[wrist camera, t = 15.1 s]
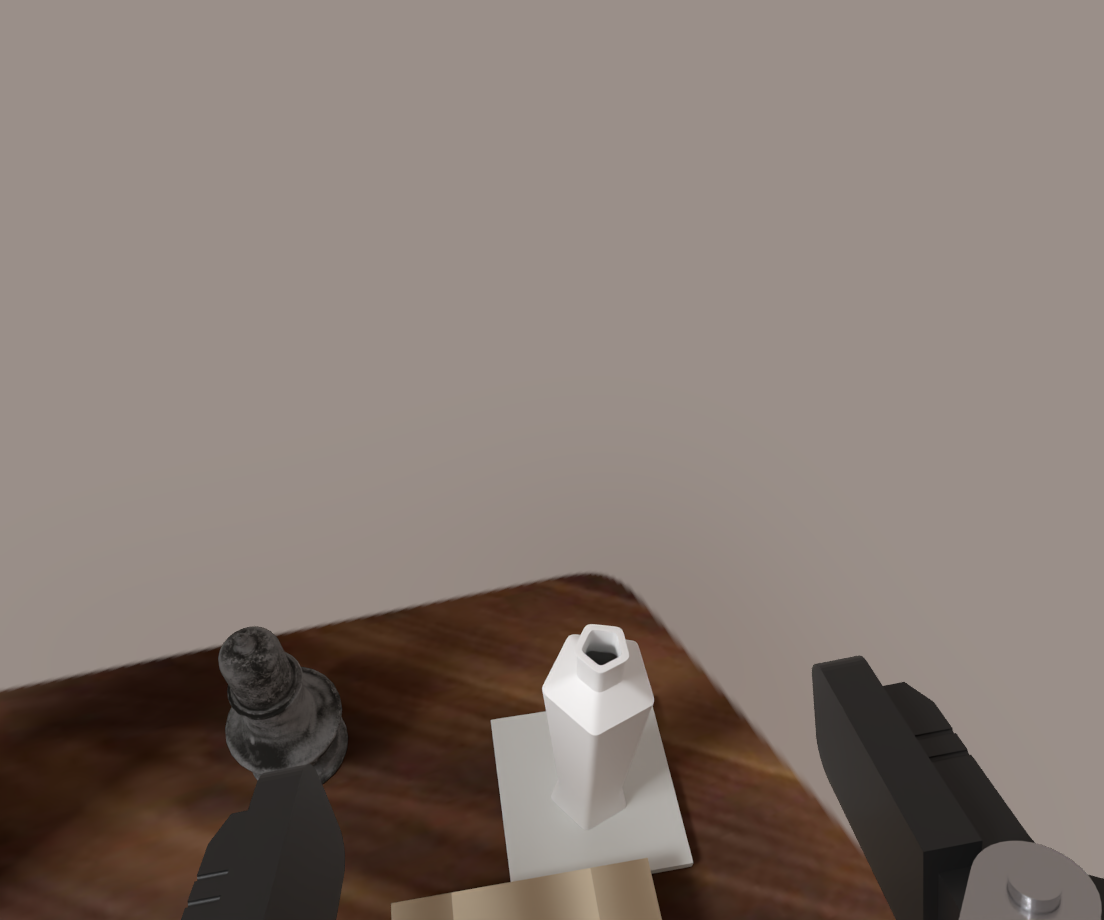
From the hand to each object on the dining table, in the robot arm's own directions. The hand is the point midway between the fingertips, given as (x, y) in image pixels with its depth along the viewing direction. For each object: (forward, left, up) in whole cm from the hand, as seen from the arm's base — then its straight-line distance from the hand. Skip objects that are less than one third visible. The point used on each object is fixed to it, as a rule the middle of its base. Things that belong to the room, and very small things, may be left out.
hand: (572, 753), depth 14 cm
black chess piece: (-12, +16, -32) cm, 38 cm away
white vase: (+3, +11, -32) cm, 33 cm away
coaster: (+3, +11, -32) cm, 34 cm away
